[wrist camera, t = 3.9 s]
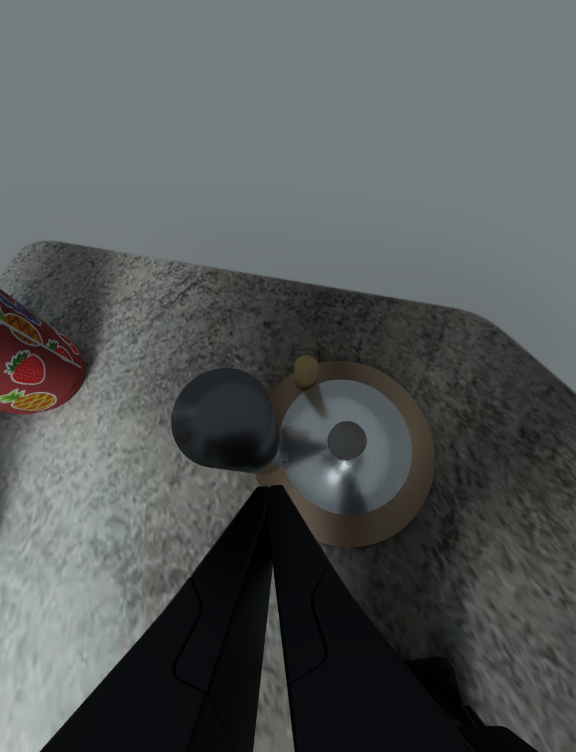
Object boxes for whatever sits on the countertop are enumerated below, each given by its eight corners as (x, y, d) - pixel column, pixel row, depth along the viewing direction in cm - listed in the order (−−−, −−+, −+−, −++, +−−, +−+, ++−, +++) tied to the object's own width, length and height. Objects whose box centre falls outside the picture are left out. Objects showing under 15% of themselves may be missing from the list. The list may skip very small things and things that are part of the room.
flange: (388, 376, 22) (508, 246, 10) (422, 502, 19) (662, 548, 6) (241, 396, 22) (173, 287, 9) (252, 527, 18) (168, 622, 6)
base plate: (260, 554, 19) (251, 573, 15) (249, 373, 23) (240, 353, 20) (451, 532, 19) (490, 545, 15) (404, 357, 24) (425, 334, 20)
